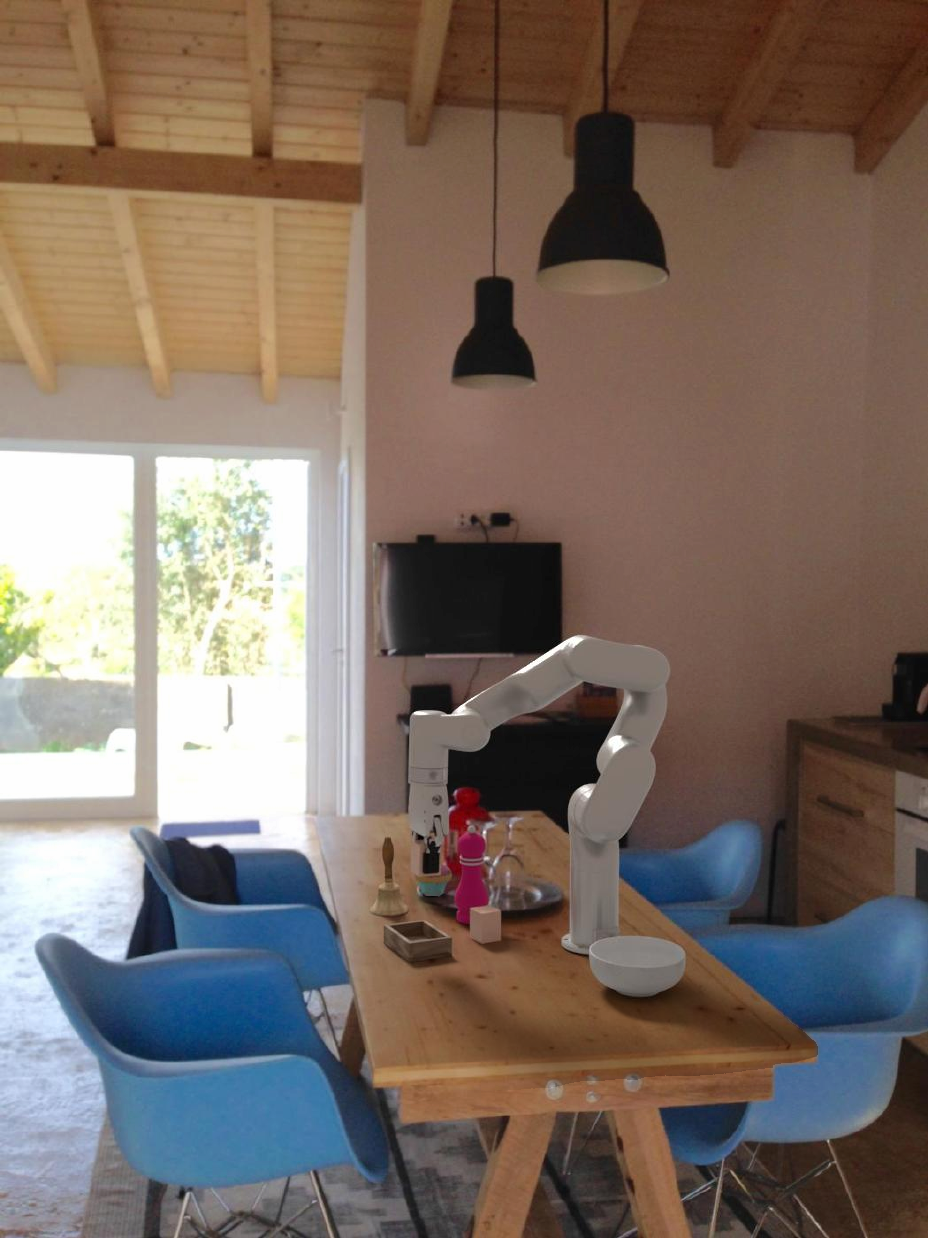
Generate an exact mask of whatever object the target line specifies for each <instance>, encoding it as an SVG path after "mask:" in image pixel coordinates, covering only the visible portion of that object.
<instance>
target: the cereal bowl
mask: <svg viewBox="0 0 928 1238" xmlns="http://www.w3.org/2000/svg"><path fill="white" fill-rule="evenodd" d="M686 957H687V955H686V951H685V949H684V948H683V947H682V946H681V945H679V944H676V943H675V942H673V941H671V940H666V939H664V938H658V937H654V936H646V935H645V936H644V935H620V936H618V937H610V938H606V939H602V940H599V941H597V942H595V943H593V944H592V945H591V946H590V949H589V955H588V959H589V960H588V961H589V966H590V969H591V973H593V976H594V977H595V978H596V979H597V981H599V982H600V983H601V984H602V985H604V986H606V987H608V988H610V989H611V990H615V991H616V992H617V993H619V994H620V995H624V996H627V997H628V996H629V997H635V998H645V997H648V998H649V997H652V996H653V997H654V996H655V995H657V994H659V993H660V992H664V991H666V990H668V989H671V988H672V987H674V986H675V985H676V984H678V982H680V980H681V979H682V978H683V975H684V973H685V970H686V961H687V960H686Z"/></svg>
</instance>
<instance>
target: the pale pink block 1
mask: <svg viewBox="0 0 928 1238" xmlns="http://www.w3.org/2000/svg"><path fill="white" fill-rule="evenodd" d="M431 841H434V839H429V845H430V843H431ZM442 846H443V844H442V845H441V847H440V848H441V851H440V858H439V872H438V873H432V874H424V873H423V853H425V842H424V840H413V839H412V840H410V866H409V868H410V870H409V872H411V873H412V874H413V875H414V874H415V875H417V876H418V877H424V876H436V875H441V864H442V850H443V849H442ZM415 875H414V876H415Z"/></svg>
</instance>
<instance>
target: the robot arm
mask: <svg viewBox="0 0 928 1238" xmlns="http://www.w3.org/2000/svg"><path fill="white" fill-rule="evenodd" d="M670 675H671V666H670V663H669V660H668V659H667V657H666V656H665V655H664V653H662V652H661V651H660V650H658V649H656V648H653V647H649V646H646V645H642V644H641V645H640V644H627V643H622V642H615V641H612V640H611V641H610V640H605V639H602V638H601V639H600V638H598V637H595V636H594V637H593V636H589V635H586V634H577V635H574V636H572V637H569V638H567V639H566V640H565V641H563V642H561V643H559V644H558V645H557V646H555V647H553V648H552V649H550V650H549V651H548V652H546V653H544V654H543V655H541V656H540V657H538V658H537V659H536V660H534V661H532V662H531V663H529V664H528V665H526V666H524V667H523V668H521V669H520V670H518V671H517V672H514V673H512V674H511V675H509V676H507V677H506V678H504V679H503V680H501V681H499V682H497V683H495V684H493V685H492V686H490V687H489V688H487V689H485V690H484V691H481V692H480V693H479V694H477V695H475V696H474V697H472V698H471V699H469V700H467V701H466V702H465V703H463V704H462V705H460V706H459V707H458V708H456V709H455V710H454V711H452V713H451V714H447V713H446V712H443V711H440V710H432V709H431V710H417V711H414V712H412V714H410V717H409V736H408V737H409V744H408V775H407V776H408V778H407V779H408V780H407V781H408V782H407V783H408V784H410V786H409V796H408V811H407V816H408V817H407V818H408V819H407V822H408V824H407V825H408V828H409V829H410V830H411V836H412V840H424V842H425V853H423V873H424V874H432V873H438V872H439V858H440V851H441V852H442V850H441V848H440V847H441V845H442V846H443V843H444V842H445V837H447V836H448V835H449V833H450V832H449V831H450V823H449V822H450V816H449V815H450V811H449V808H450V807H449V797H448V796H449V795H448V794H449V793H448V788H447V787H448V786H447V785H448V781H449V780H448V775H449V773H448V772H449V769H448V768H449V750H453V751H454V750H455V751H458V752H460V751H461V752H469V753H471V752H472V753H473V752H477V751H480V750H481V749H483V748H485V746H486V745H487V744H488V743H489V742H490V741H489V740H490V739H491V738H490V737H491V731H493V730H494V729H495V728H497V727H499V726H500V725H501V724H503V723H505V722H508V721H509V720H511V719H513V718H515V717H517V716H521V715H523V714H528V713H533V712H537V711H539V710H541V709H543V708H545V707H547V706H549V704H551V703H552V702H554V701H555V700H557V699H558V698H560V697H561V696H563V695H565V694H566V693H567V692H570V691H571V690H573V688H575V687H578V686H579V685H580V684H581V683H583V682H586V683H589V684H593V685H595V684H596V685H598V686H599V685H600V686H604V687H609V688H610V687H611V688H616V689H622V690H623V701H622V705H621V706H620V707H621V708H620V710H619V712H618V714H617V717H616V719H615V721H614V723H613V724H612V727H611V728H610V730H609V732H608V734H607V736H606V738H605V740H604V742H603V743H602V745H601V747H600V749H599V751H598V752H597V756H596V766H597V767H596V768H597V770H598V772H599V773H600V776H599V778H598V779H597V782H596V783H588V784H584V785H582V786H580V787H579V788H577V789H576V790H575V791H574V792H573V793H572V795H571V797H570V799H569V803H568V806H567V807H568V808H567V823H568V832H569V833H568V835H569V933H566V934H565V935H563V936H562V937H561V946H562V947H563V948H564V949H565V950H567V951H569V952H572V953H577V954H581V955H586V956H589V949H590V946H591V945H592V944H593V943H595V942H597V941H599V940H602V939H606V938H610V937H618V936H621V935H620V934H621V933H620V932H621V928H620V927H619V915H620V914H619V913H620V912H619V911H620V907H619V897H620V895H619V892H620V890H619V888H620V886H619V885H620V883H619V881H620V877H619V876H620V870H619V869H620V846H619V845H620V843H619V840H620V839H621V838H623V837H624V835H625V834H627V832H628V831H629V829H630V827H631V826H632V824H633V822H634V820H635V818H636V816H637V815H638V813H639V811H640V809H641V807H642V805H643V803H644V801H645V799H646V797H647V795H648V793H649V791H650V789H651V787H652V785H653V782H654V780H655V776H656V768H657V767H656V760H655V757H654V755H653V753H652V751H651V749H652V747H653V745H654V743H655V741H656V739H657V737H658V734H659V732H660V730H661V728H662V725H663V722H664V720H665V719H666V718H665V717H666V713H667V708H668V692H667V686H666V684H667V683H668V680H669V678H670ZM431 834H434V835H431ZM429 839H434V841H431V843H430V845H429Z"/></svg>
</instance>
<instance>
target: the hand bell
mask: <svg viewBox="0 0 928 1238" xmlns="http://www.w3.org/2000/svg"><path fill="white" fill-rule="evenodd" d="M381 855H382V861H383V865H384V882H383V883H382V884H380V885H379V886H378V890H377V897H376V899H375V902H374V904H373V905H372V906H371V907H370V908H369V909H370V910H369V912H370V914H372V915H375V916H380V917H381V916H382V917H395V916H401V915H404V914H406V913H408V912H409V907H408V906H407V905H406V904H405V903H404V901H403V898H402V897H401V891H400V886H399V885H398V884H397V883H395V882H394V879H393V869H392V868H393V864H394V857H395V847H394V844H393V842H392V838H391V836H385V837H384V841H383V844H382V848H381Z"/></svg>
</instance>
